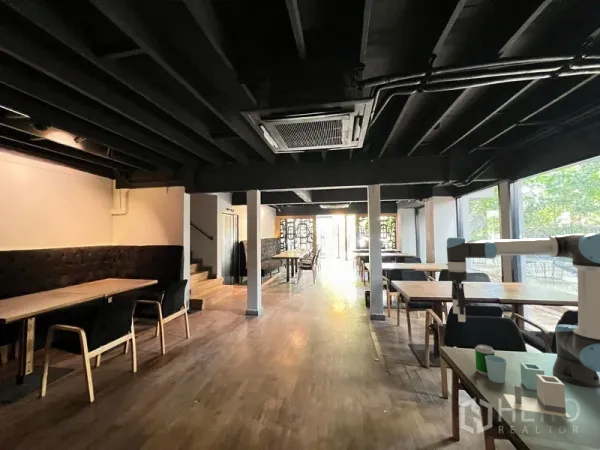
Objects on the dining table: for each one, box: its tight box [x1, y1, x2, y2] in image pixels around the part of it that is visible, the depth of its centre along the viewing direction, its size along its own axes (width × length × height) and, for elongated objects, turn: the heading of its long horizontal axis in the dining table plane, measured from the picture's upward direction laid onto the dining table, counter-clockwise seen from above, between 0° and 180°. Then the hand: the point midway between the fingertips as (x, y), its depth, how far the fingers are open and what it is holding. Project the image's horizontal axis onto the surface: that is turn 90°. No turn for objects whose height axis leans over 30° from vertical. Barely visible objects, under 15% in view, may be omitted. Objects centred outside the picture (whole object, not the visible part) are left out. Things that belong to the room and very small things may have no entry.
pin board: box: [503, 384, 571, 418], centre depth 106 cm, size 17×10×8 cm, turn 70°
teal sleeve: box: [519, 362, 545, 392], centre depth 118 cm, size 6×6×10 cm
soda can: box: [474, 344, 496, 377], centre depth 134 cm, size 8×8×12 cm
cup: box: [485, 355, 507, 384], centre depth 125 cm, size 8×8×10 cm
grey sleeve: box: [536, 374, 567, 414], centre depth 105 cm, size 6×6×10 cm
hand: (459, 317), depth 131 cm, fingers open, 13 cm apart
